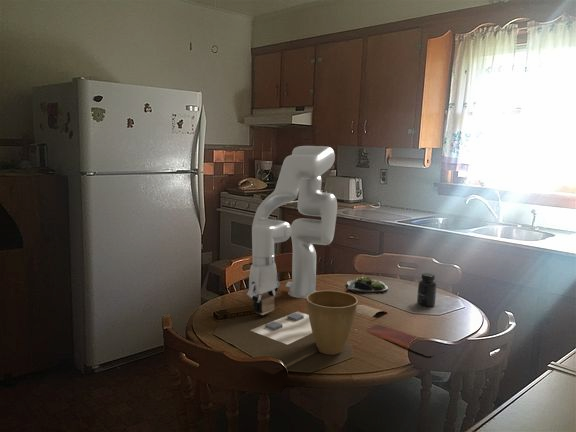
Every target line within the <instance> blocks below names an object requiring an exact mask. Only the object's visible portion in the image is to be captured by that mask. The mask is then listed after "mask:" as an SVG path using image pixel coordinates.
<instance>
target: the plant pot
mask: <svg viewBox="0 0 576 432" xmlns="http://www.w3.org/2000/svg"><path fill="white" fill-rule="evenodd" d="M316 291H317V292H313V293H311V294H309V295H308V296H307V298H306V304H307V312H308V315H309V319H310V324H311V329H312V336H313V339H314V340H313V341H314V343H315V345H316V348H317V350H318V351H319V352H320V353H322V354H325V355H333V356H334V355H338V354H340V353H342V352H343V349H344V348H345V345H346V343H347V340H348V338H349V335H350V332H351V331H352V327H353V322H354V319H355V315H356V307H357V305H358V302H359V301H358V298H357V297H356V296H354V295H352V294H350V293H347V292H343V291H337V290H316Z"/></svg>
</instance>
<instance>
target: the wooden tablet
mask: <svg viewBox="0 0 576 432" xmlns="http://www.w3.org/2000/svg"><path fill="white" fill-rule="evenodd" d="M365 332H367V333H369V334H370V335H372V336H375V337H377V338H380V339H383V340H385V341H388V342H389V343H390V342H391V343H392V344H395V345H398V346H399V347H402V348H404V349H407V350H409V349H408V346H409V344H410V342H411V341H412V340H414V339H415V338H420V337H418V336H416V335H412V334H409V333H407V332H404V331H401V330H398V329H394V328H391V327H390V326H389V327H388V326H387V325H386V326H385V325H382V324H378V323H377V324H374V325H372V326H370V327H367V328H366V329H365Z"/></svg>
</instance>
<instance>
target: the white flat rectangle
mask: <svg viewBox="0 0 576 432" xmlns="http://www.w3.org/2000/svg"><path fill="white" fill-rule="evenodd" d="M294 313H297V314H300V315H303V316H304V319H301V320H299V321H297V322H296V321H293V320H290V319H287V316H288V315H291V314H294ZM288 315H287V314H286V315H285V316H282V317H280V318H278V319H274V320H273V321H274V322H277V323H280V324H282V328H280V329H278V330H275V331H273V330H270V329H268V328H265V325H266V324H268V323H271V322H273V321H270V322H267V323H265V324H262V325H260V326H258V327H255V328H252V329H250V330H249V331H250V332H253V333H255V334H258V335H261V336H263V337H265V338H268V339H271V340H274V341H276V342H279V343H282V344H284V345H290V344H292V343H294V342H297V341H298V340H301V339H303V338H305V337H307V336H309V335H311V334H312V335H313V333H312V329H311V324H310V319H309V314H307V313H304V312H300V311H296V312H293V313H290V314H288Z"/></svg>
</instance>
